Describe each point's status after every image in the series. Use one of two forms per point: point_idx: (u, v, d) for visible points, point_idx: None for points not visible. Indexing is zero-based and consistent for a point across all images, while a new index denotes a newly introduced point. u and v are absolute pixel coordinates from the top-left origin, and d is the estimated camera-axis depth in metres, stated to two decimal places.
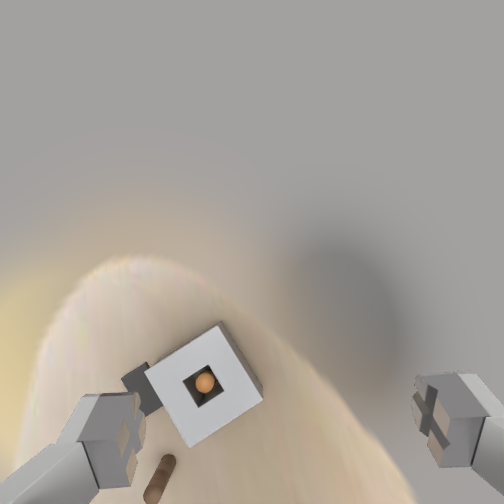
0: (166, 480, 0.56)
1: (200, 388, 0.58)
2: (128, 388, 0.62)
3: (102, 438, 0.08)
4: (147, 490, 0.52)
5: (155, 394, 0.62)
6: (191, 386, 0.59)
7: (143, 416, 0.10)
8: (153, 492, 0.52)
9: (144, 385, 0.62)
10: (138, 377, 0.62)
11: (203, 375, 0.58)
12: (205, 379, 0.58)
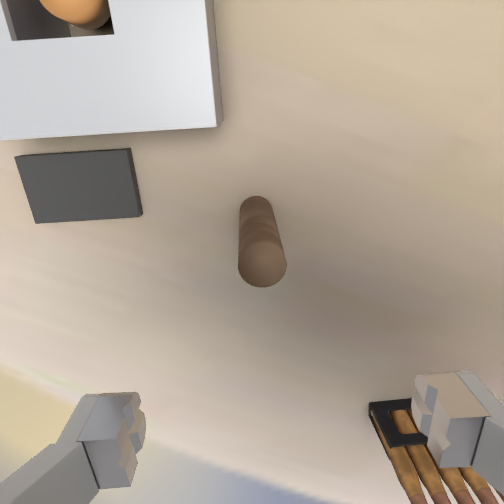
0: (265, 222, 0.21)
1: (75, 8, 0.18)
2: (62, 218, 0.27)
3: (102, 438, 0.08)
4: (243, 270, 0.19)
5: (97, 168, 0.25)
6: None
7: (143, 416, 0.10)
8: (256, 258, 0.18)
9: (67, 182, 0.26)
10: (44, 186, 0.26)
11: None
12: None
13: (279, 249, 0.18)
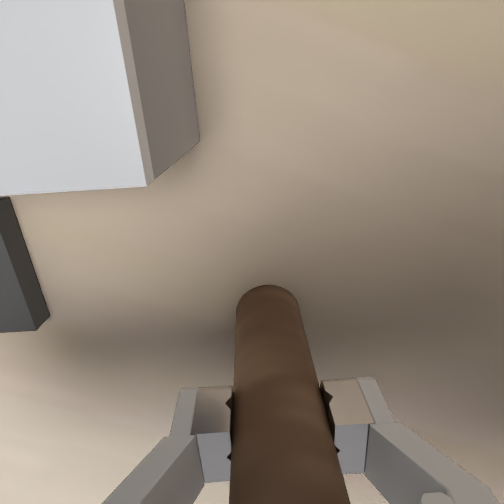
0: (299, 419, 0.08)
1: None
2: None
3: (214, 431, 0.08)
4: None
5: None
6: None
7: None
8: None
9: None
10: None
11: None
12: None
13: None
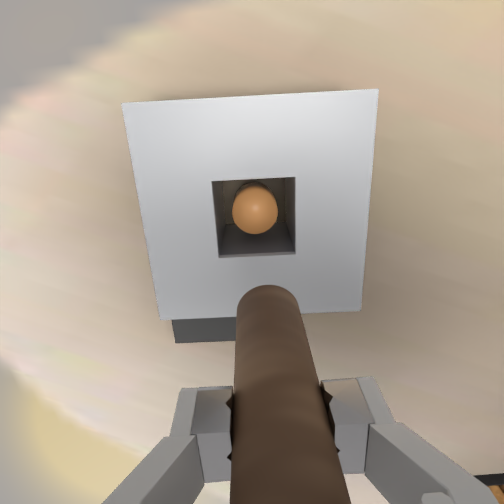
0: (299, 419, 0.08)
1: (260, 226, 0.23)
2: (198, 339, 0.32)
3: (214, 431, 0.08)
4: None
5: None
6: (248, 241, 0.25)
7: None
8: None
9: None
10: None
11: (236, 205, 0.23)
12: (247, 206, 0.23)
13: None
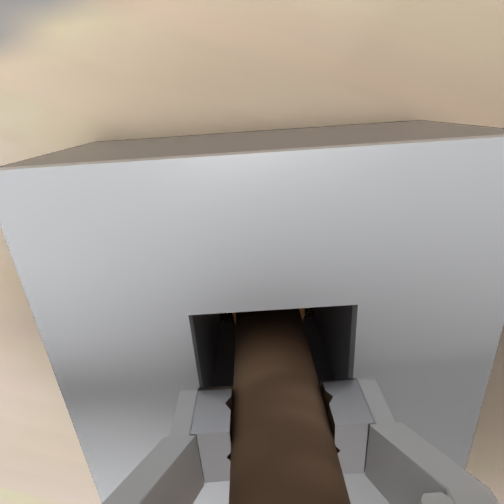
0: (298, 418, 0.08)
1: None
2: None
3: (214, 431, 0.08)
4: None
5: None
6: None
7: None
8: None
9: None
10: None
11: None
12: None
13: None
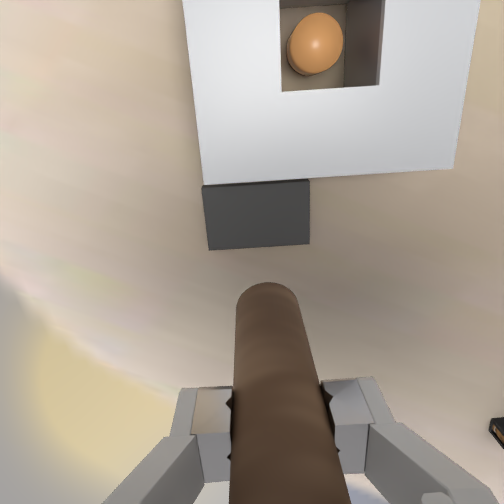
0: (299, 418, 0.08)
1: (322, 62, 0.21)
2: (236, 245, 0.28)
3: (214, 431, 0.08)
4: None
5: (278, 198, 0.26)
6: None
7: None
8: None
9: (247, 211, 0.27)
10: (224, 215, 0.27)
11: (296, 34, 0.20)
12: (309, 34, 0.20)
13: None
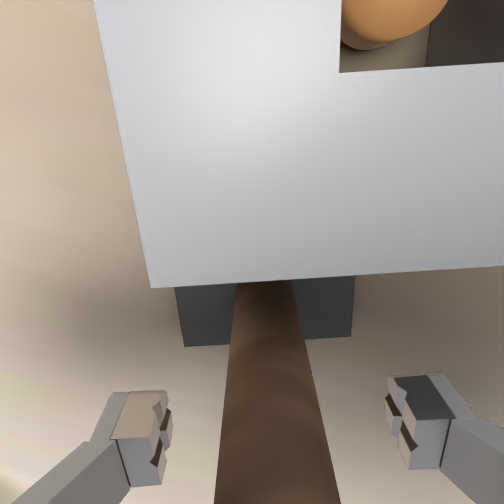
0: (284, 370, 0.09)
1: (409, 16, 0.10)
2: (229, 339, 0.17)
3: (135, 436, 0.08)
4: None
5: None
6: None
7: (170, 414, 0.10)
8: None
9: None
10: (209, 294, 0.16)
11: None
12: None
13: None
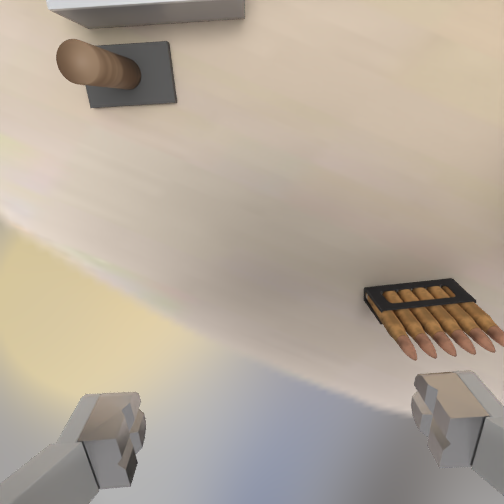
0: (100, 48, 0.25)
1: None
2: (113, 102, 0.33)
3: (102, 438, 0.08)
4: (62, 67, 0.23)
5: (142, 57, 0.31)
6: None
7: (143, 416, 0.10)
8: (70, 54, 0.22)
9: None
10: None
11: None
12: None
13: (88, 46, 0.22)
